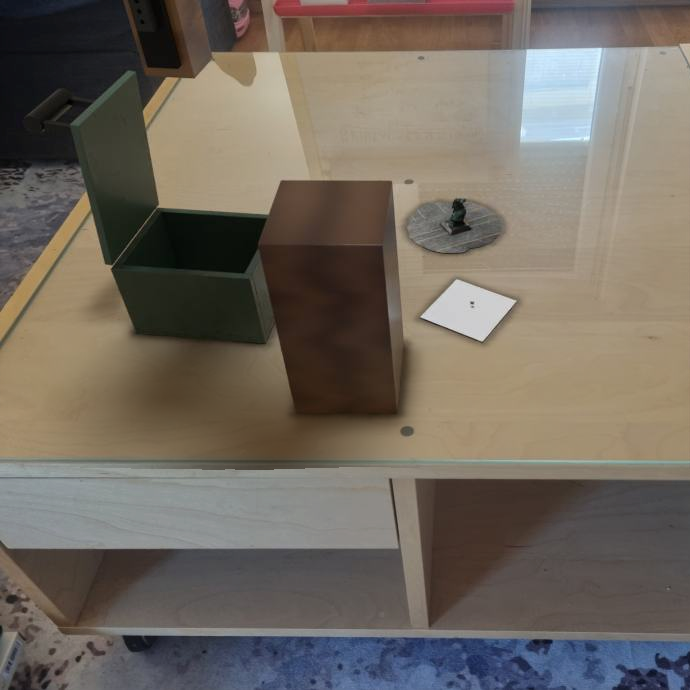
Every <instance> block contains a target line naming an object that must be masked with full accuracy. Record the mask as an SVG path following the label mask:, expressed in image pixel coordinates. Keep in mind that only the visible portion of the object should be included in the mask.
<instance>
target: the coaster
mask: <svg viewBox="0 0 690 690" xmlns="http://www.w3.org/2000/svg"><path fill="white" fill-rule="evenodd" d="M516 303H517V300H515V299H512V298H510V297H508V296H504V295H501V294H498V293H496V292H494V291H491V290H488V289H486V288H482V287H479V286H476V285H474V284H471V283H468V282H466V281H463V280H460V279H458V278H456V279H455V280H454V281H453V282H452V283H451V284H450V285H449V286H448V287H447V288H446V290H444V292H443V293H442V294H441V295H440V296H439V297H438V298H437V299H436V300H435V301H434V302H433V303H432V304H431V305H430V306H429V307H428V308H427V309H426V310H425V311H424V312H423V313H422V314H421V315H420V318H421V319H423V320H426V321H429V322H432V323H433V324H437V325H439V326H441V327H444V328H446V329H449V330H451V331H454V332H457V333H459V334H461V335H464V336H466V337H469V338H472V339H475V340H476V341H479V342H482V343H483V342H484V341H485V339H487V337H488V336H489V335H490V334H491V332H492V331H493V330H494V329H495V328H496V326H497V325H498V324H499V323H500V322H501V321H502V319H503V318H504V317H505V316H506V315H507V313H508V312H509V311H510V310H511V308H513V306H514V305H515V304H516Z"/></svg>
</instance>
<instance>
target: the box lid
mask: <svg viewBox="0 0 690 690" xmlns="http://www.w3.org/2000/svg"><path fill="white" fill-rule="evenodd" d="M72 107H76V108H81V109H82V108H83V109H85V110H84V111H82V113H81V114H80V115H78V116H77V117H76V118H75V119H73V121H72V122H71V123H67V122H61V121H57V120H58V119H59V118H60V117H61V116H62V115H64V114H65V113H66V112H67V111H68V110H69V109H70V108H72ZM144 116H145V115H144V111H143V105H142V99H141V92H140V87H139V82H138V76H137V71H133V70H127V71H125V73H124V74H123V75H121V77H120V78H118V79H117V80H116V81H115V82H114V83H112V85H111V86H110V87H109V88H107V89H106V91H105V92H103V93H102V94H101V95H100V96H99V97H98V98H96V99H92V98H85V97H79V96H74V95H73V94H72V92H71V91H70V90H68V89H66V88H58V89H56V90H55V91H54V92H53V93H52V94H51V95H49V97H47V98H46V99H44V100H43V101H42V102H41V103H40V104H38V105H37V106H36V107H35V108H34V109H33V110H32V111H30V112H29V113H28V114H27V115H25V116H24V117H23V121H22V122H23V126H24V127H25V129H26V131H28V132H30V133H31V134H34V135H40V134H42V133H43V132H45V130H46V131H51V132H57V133H63V134H64V133H65V134H69V135H72V138H73V142H74V146H75V151H76V154H77V159H78V163H79V166H80V170H81V175H82V178H83V183H84V187H85V189H86V190H85V191H86V195H87V198H88V202H89V206H90V210H91V214H92V218H93V222H94V226H95V230H96V234H97V238H98V243H99V246H100V250H101V254H102V258H103V263H104V264H105V265H106V266H113V265H114V264H115V262H116V261H117V260H118V258H119V257H120V256H121V255H122V253H123V252H124V251H125V249H126V248H127V247H128V245H129V244H130V243H131V241H132V240H133V239H134V237H135V236H136V235H137V233H138V232H139V231H140V230H141V228H142V227H143V226H144V224H145V223H146V222H147V220H148V219H149V218H150V216H151V215H152V214H153V212H154V211H155V210H156V209H157V208H158V207H159V205H160V201H159V194H158V190H157V184H156V179H155V173H154V167H153V162H152V156H151V150H150V145H149V137H148V133H147V132H148V131H147V128H146V127H147V126H146V121H145V117H144Z"/></svg>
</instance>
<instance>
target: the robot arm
mask: <svg viewBox="0 0 690 690" xmlns="http://www.w3.org/2000/svg"><path fill="white" fill-rule="evenodd" d="M128 3H129V6H130V10H131V13H132V16H133V20H134V23H135V27H136V30H137V33H138V37H139V40H140V44H141V47H142V50H143V54H144V57H145V61H146V64H147V68H167V69H179V68H180V67H181V66H182V65H181V62H180V58H179V54H178V50H177V46H176V42H175V39H174V35H173V31H172V27H171V23H170V19H169V16H168V12H167V8H166V4H165V0H128Z"/></svg>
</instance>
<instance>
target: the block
mask: <svg viewBox="0 0 690 690" xmlns="http://www.w3.org/2000/svg"><path fill="white" fill-rule="evenodd" d="M123 4H124V7H125V11H126V14H127V18H128V21H129V24H130V27H131V30H132V35H133V37H134V40H135V44H136V47H137V51H138V55H139V58H140V62H141V64H142V68H143V72H144V74H145V77H153V78H154V77H155V78H171V79H172V78H175V79H196V77H198V75H199V74H200V73H201V72H202V71H203V70H204V69H205V68H206V67H207V66H208V64H209V63H210V62H211V61H212V60H213V53H212V49H211V45H210V39H209V35H208V32H207V27H206V23H205V18H204V13H203V10H202V5H201V1H200V0H165V4H166V8H167V12H168V16H169V19H170V23H171V27H172V31H173V35H174V39H175V42H176V46H177V50H178V54H179V58H180V62H181V65H182V66H181V67H180V68H179V69H167V68H147V64H146V61H145V57H144V54H143V50H142V47H141V44H140V40H139V37H138V33H137V30H136V27H135V23H134V20H133V16H132V13H131V10H130V6H129V3H128V0H123Z"/></svg>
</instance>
